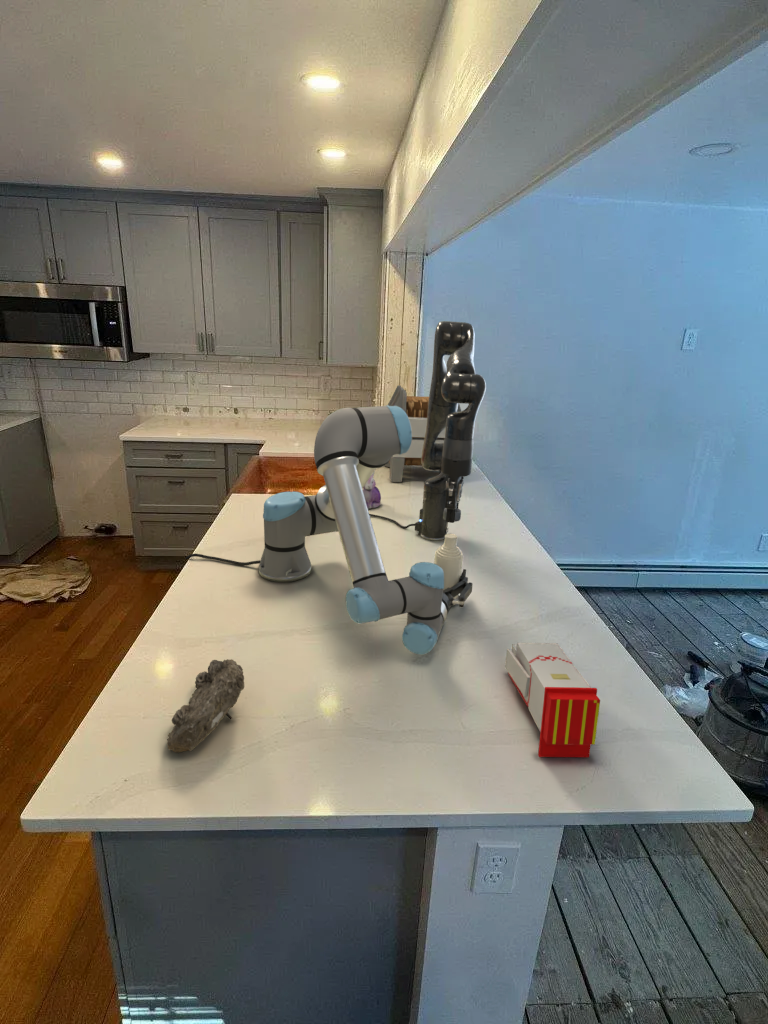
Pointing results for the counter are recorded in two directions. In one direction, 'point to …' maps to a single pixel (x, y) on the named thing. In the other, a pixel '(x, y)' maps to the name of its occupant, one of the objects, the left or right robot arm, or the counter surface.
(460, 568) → the ribbed frosted cylinder
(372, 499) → the figurine
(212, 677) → the fossil
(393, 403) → the transformer
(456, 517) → the cap
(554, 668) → the toy
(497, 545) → the counter surface
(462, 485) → the right robot arm
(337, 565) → the counter surface
